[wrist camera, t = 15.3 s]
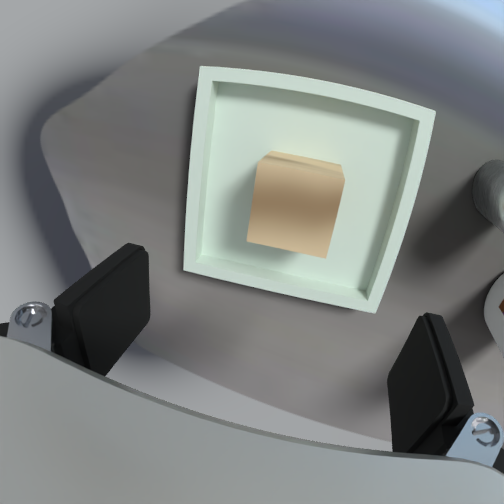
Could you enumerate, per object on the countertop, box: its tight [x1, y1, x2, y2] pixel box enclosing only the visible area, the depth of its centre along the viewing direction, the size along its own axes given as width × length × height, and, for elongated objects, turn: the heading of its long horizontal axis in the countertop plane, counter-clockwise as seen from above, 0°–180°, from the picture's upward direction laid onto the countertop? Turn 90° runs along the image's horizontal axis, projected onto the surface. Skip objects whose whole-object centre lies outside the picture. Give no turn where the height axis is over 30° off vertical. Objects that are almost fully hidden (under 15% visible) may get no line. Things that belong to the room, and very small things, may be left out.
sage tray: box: [183, 66, 436, 313], centre depth 23 cm, size 16×16×2 cm
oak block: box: [247, 151, 345, 259], centre depth 21 cm, size 5×5×5 cm
